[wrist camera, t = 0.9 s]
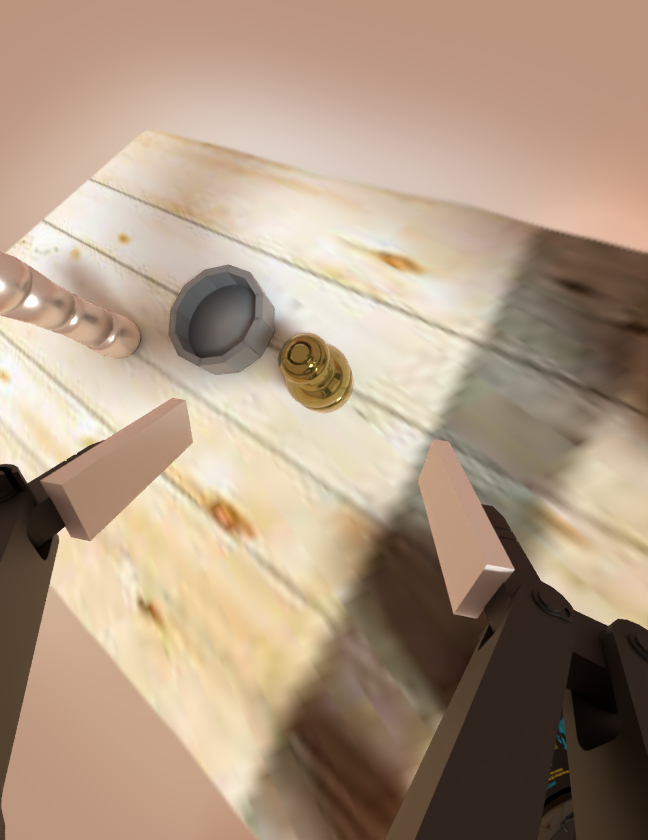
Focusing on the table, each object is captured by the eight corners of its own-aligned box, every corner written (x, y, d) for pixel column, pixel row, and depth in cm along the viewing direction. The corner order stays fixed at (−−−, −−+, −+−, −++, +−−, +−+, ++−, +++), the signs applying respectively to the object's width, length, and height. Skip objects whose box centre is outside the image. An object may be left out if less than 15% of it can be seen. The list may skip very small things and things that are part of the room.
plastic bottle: (152, 344, 41) (-55, 239, 22) (121, 371, 42) (-107, 291, 22) (137, 316, 43) (-67, 195, 24) (107, 342, 43) (-115, 245, 24)
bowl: (274, 275, 38) (263, 256, 34) (273, 368, 35) (261, 358, 32) (191, 292, 41) (173, 276, 37) (184, 378, 38) (165, 370, 35)
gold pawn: (316, 348, 34) (288, 302, 25) (365, 373, 32) (356, 334, 23) (286, 396, 34) (247, 369, 25) (334, 424, 32) (311, 407, 22)
